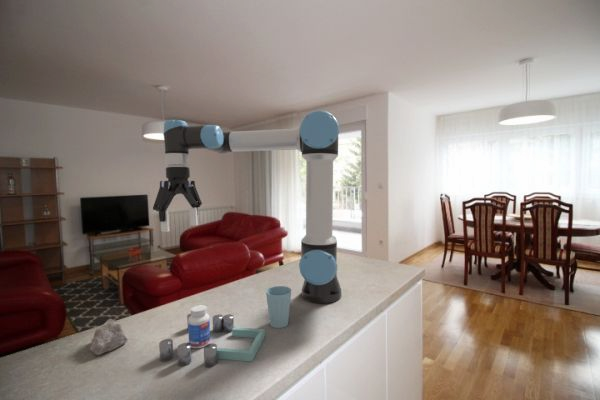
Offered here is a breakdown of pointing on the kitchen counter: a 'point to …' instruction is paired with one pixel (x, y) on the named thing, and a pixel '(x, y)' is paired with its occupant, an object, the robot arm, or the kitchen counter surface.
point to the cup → (278, 305)
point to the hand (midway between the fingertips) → (180, 228)
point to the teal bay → (243, 354)
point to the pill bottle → (199, 327)
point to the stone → (107, 337)
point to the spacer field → (184, 349)
